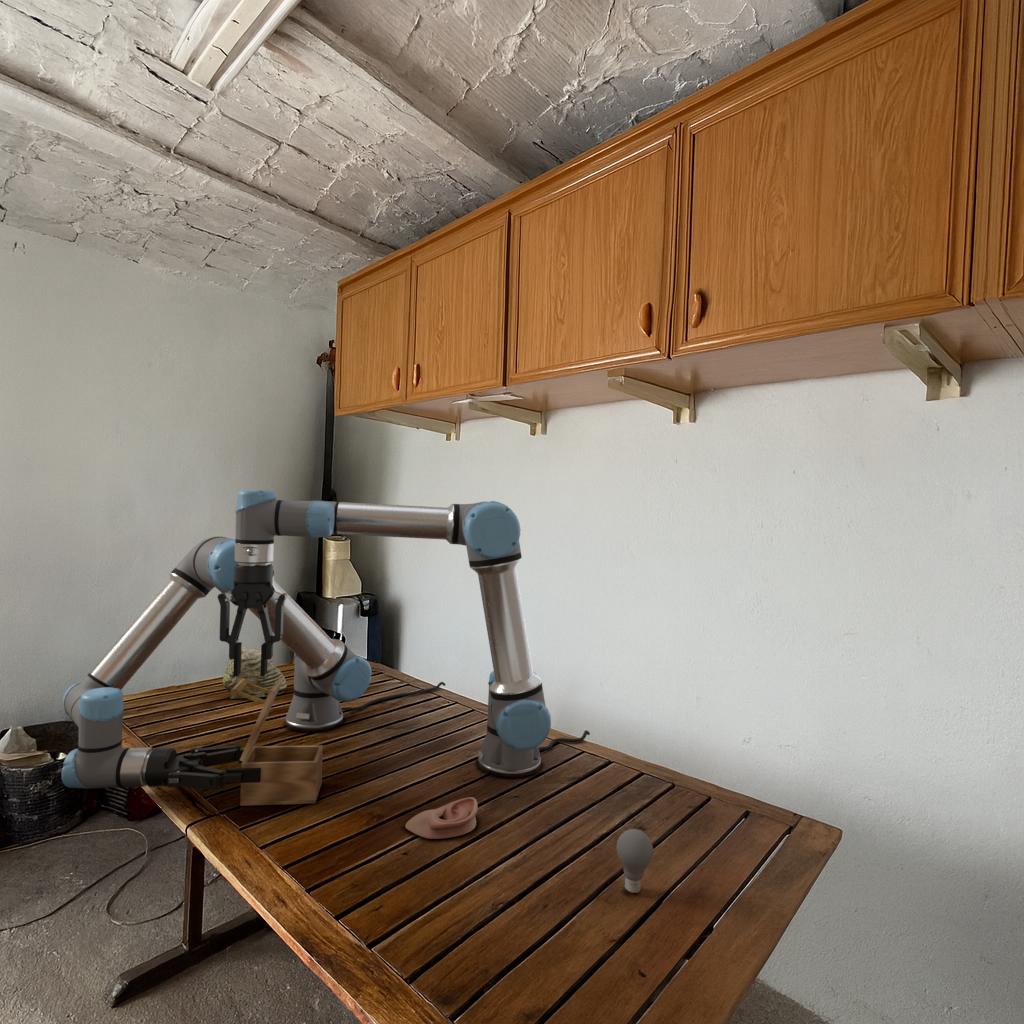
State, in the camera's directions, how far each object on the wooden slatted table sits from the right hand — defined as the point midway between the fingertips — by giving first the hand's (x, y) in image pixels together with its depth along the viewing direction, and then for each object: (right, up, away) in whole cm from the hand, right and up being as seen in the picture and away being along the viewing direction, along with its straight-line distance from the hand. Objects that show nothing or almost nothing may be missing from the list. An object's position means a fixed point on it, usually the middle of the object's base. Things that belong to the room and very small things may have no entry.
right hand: (250, 674), depth 132 cm
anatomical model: (+41, -28, -8) cm, 50 cm away
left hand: (+3, -19, +1) cm, 20 cm away
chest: (+6, -26, +2) cm, 27 cm away
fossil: (-26, -23, +66) cm, 74 cm away
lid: (+3, -9, +1) cm, 10 cm away
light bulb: (+75, -29, -27) cm, 85 cm away
